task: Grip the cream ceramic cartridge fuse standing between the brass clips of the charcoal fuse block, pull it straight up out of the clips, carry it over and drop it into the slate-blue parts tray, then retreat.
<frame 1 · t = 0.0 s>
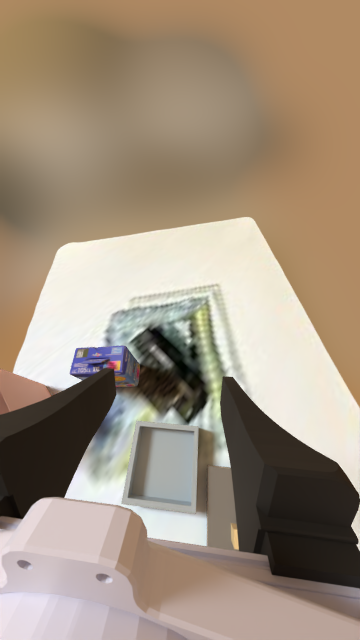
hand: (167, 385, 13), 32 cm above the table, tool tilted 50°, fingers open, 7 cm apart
ink cartridge box: (119, 376, 46), on the table
greeting card: (53, 408, 43), on the table
fuse block: (250, 531, 31), on the table
parts tray: (165, 460, 37), on the table
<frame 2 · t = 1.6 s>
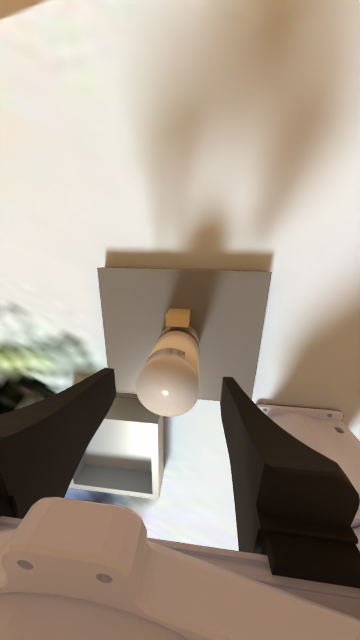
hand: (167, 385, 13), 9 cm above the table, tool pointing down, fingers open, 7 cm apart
fuse block: (180, 335, 21), on the table
blown fuse: (179, 340, 20), point 1 cm above the table, touching fuse block
parts tray: (120, 433, 26), on the table
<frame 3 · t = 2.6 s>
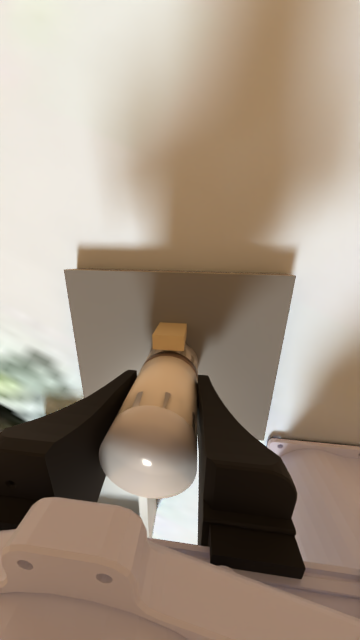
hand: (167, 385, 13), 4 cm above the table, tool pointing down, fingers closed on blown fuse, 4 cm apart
fuse block: (175, 354, 17), on the table
blown fuse: (172, 362, 15), point 1 cm above the table, touching fuse block, gripper
parts tray: (104, 468, 22), on the table
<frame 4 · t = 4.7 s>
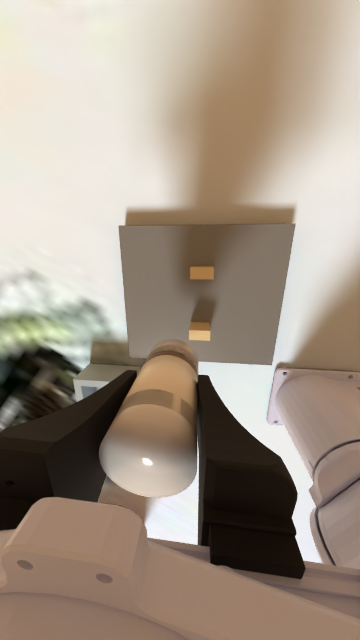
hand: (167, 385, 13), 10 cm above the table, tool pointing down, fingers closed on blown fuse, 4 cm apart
fuse block: (200, 297, 21), on the table
blown fuse: (173, 362, 15), point 7 cm above the table, touching gripper
parts tray: (137, 404, 26), on the table
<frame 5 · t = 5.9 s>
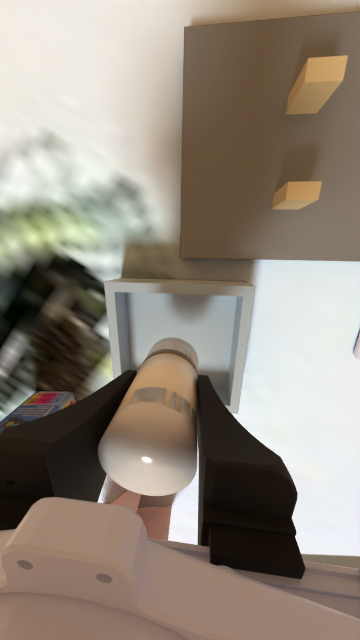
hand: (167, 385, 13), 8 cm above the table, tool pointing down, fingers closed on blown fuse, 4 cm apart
ink cartridge box: (67, 420, 26), on the table
greeting card: (130, 494, 29), on the table
fuse block: (285, 166, 15), on the table
blown fuse: (172, 360, 15), point 5 cm above the table, touching gripper
parts tray: (180, 337, 20), on the table
when the fingers open (6 cm above the table, at t = 6.7 s): blown fuse drops 2 cm, resting on parts tray.
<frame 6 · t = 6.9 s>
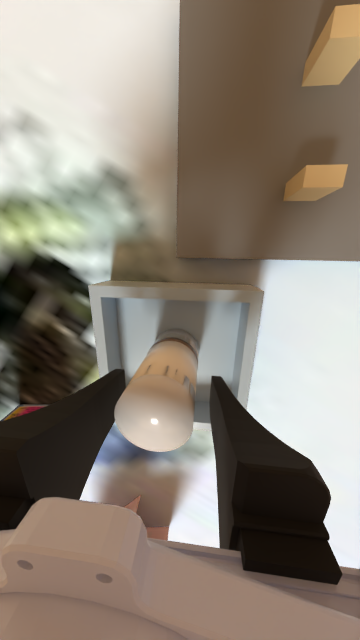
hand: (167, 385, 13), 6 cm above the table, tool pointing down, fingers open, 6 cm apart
greeting card: (124, 513, 27), on the table
fuse block: (298, 150, 13), on the table
blown fuse: (176, 349, 17), point 1 cm above the table, touching parts tray
parts tray: (177, 346, 18), on the table
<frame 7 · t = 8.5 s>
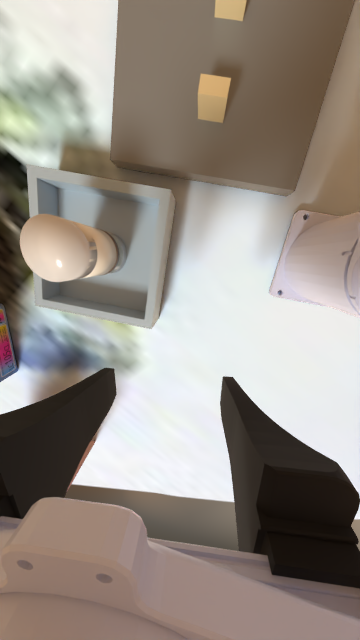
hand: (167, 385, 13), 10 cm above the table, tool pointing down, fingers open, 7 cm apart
fuse block: (218, 81, 16), on the table
blown fuse: (107, 253, 20), point 1 cm above the table, touching parts tray
parts tray: (111, 255, 21), on the table
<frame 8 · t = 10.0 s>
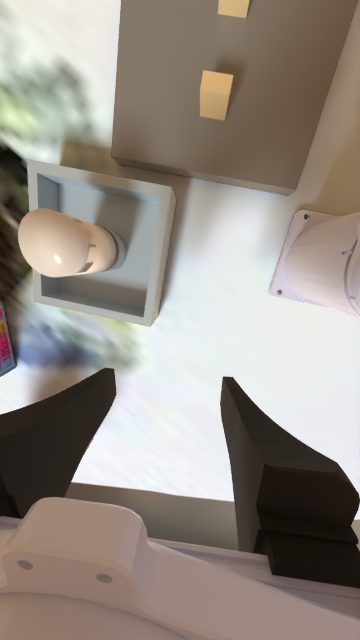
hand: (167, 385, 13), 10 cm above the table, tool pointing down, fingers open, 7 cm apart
fuse block: (221, 79, 16), on the table
blown fuse: (107, 250, 20), point 1 cm above the table, touching parts tray
parts tray: (111, 252, 21), on the table
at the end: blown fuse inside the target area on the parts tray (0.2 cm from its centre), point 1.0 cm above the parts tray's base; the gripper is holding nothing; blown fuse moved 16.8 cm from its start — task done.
